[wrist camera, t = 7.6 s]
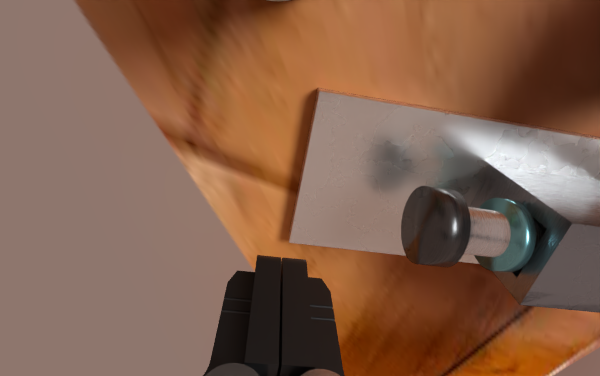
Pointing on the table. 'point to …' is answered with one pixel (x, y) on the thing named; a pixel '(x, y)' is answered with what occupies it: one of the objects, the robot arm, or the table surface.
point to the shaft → (467, 230)
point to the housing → (452, 186)
